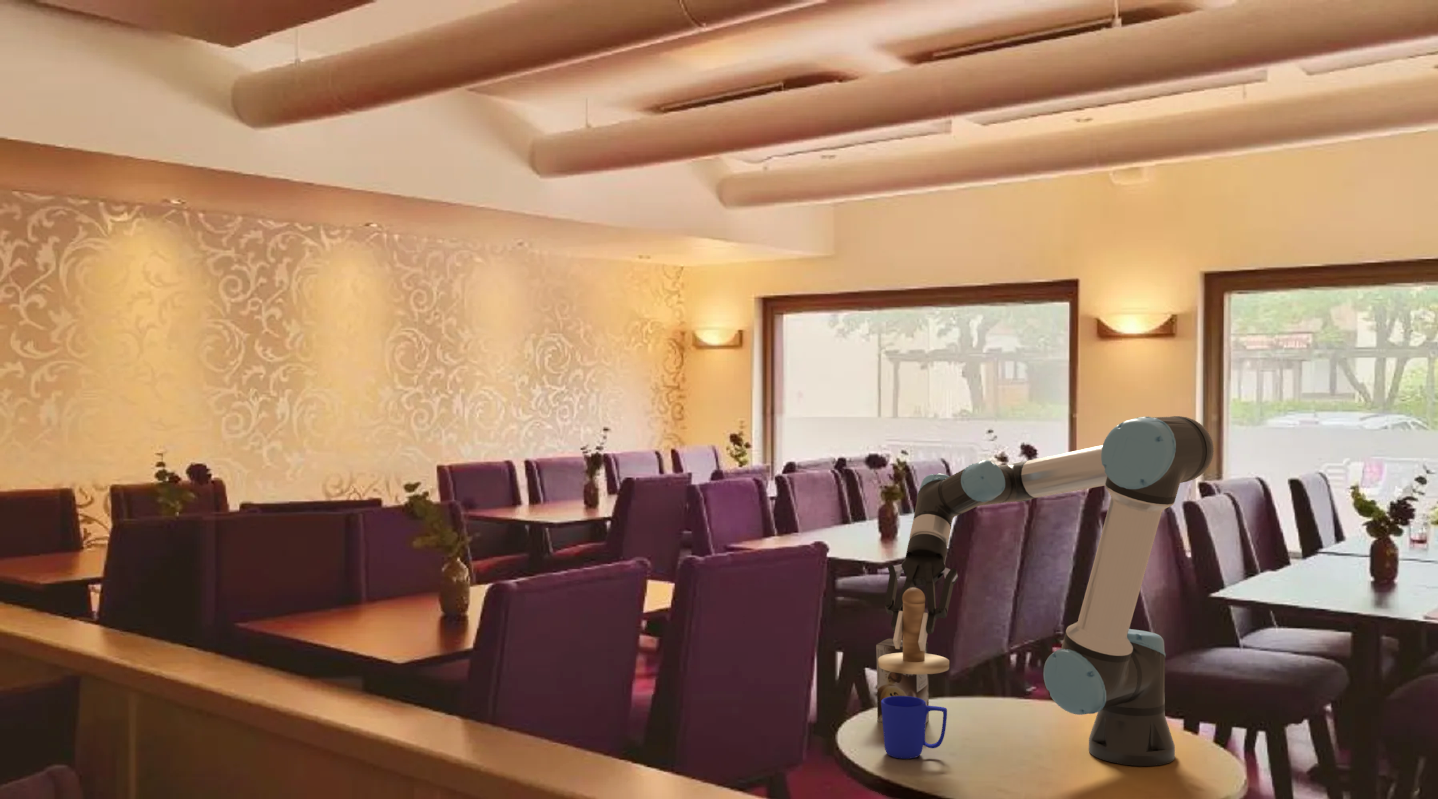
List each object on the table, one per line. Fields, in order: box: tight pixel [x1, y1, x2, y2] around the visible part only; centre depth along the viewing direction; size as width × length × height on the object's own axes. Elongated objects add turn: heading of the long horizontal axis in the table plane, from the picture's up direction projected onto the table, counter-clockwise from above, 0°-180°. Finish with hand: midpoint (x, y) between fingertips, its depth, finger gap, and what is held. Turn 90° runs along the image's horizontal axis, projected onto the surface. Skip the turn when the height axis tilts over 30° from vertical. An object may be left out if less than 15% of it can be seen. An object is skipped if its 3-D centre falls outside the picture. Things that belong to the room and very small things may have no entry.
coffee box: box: [875, 638, 930, 723], centre depth 250 cm, size 9×6×16 cm
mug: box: [881, 696, 948, 760], centre depth 227 cm, size 8×12×10 cm
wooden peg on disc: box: [878, 587, 950, 675], centre depth 228 cm, size 13×13×15 cm
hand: (908, 645), depth 224 cm, fingers closed on wooden peg on disc, 4 cm apart
